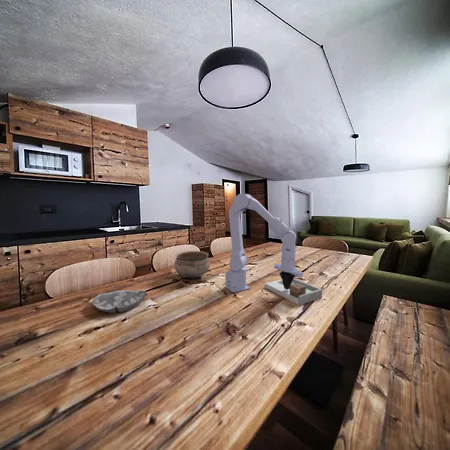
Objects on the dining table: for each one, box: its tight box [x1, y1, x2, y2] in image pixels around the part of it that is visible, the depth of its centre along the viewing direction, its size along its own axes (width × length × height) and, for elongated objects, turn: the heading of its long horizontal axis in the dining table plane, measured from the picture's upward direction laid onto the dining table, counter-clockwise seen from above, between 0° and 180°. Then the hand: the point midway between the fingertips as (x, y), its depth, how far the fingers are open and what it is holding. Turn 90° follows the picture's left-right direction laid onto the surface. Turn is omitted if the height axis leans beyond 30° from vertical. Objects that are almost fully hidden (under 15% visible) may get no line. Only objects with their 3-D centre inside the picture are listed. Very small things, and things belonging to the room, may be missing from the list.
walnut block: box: [290, 283, 306, 298], centre depth 90 cm, size 4×4×4 cm
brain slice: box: [91, 289, 147, 314], centre depth 85 cm, size 20×17×3 cm
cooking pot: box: [173, 250, 211, 280], centre depth 117 cm, size 25×19×12 cm
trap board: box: [264, 278, 323, 306], centre depth 98 cm, size 14×21×4 cm, turn 31°
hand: (286, 288), depth 95 cm, fingers closed
